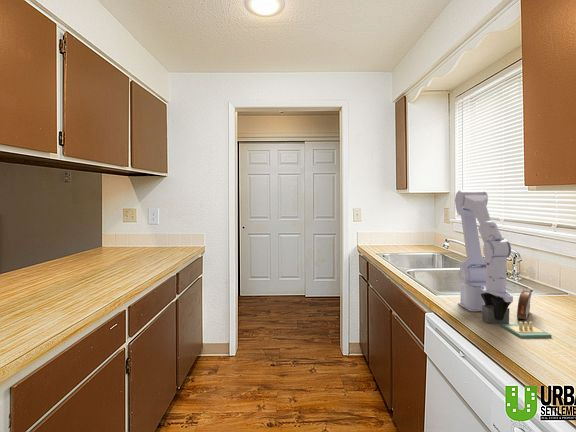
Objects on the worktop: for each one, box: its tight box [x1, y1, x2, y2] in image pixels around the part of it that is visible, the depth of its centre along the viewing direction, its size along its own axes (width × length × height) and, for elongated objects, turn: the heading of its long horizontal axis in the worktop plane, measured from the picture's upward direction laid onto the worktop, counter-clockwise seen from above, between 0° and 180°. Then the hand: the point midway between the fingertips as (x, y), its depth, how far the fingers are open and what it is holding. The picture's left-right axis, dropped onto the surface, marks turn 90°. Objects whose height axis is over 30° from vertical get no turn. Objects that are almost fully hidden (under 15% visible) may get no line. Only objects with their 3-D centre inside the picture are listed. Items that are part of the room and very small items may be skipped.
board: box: [501, 321, 552, 339], centre depth 108 cm, size 9×9×3 cm
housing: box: [481, 305, 510, 325], centre depth 117 cm, size 4×7×5 cm, turn 90°
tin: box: [516, 289, 532, 320], centre depth 121 cm, size 15×3×8 cm, turn 141°
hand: (495, 317), depth 117 cm, fingers closed on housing, 4 cm apart
